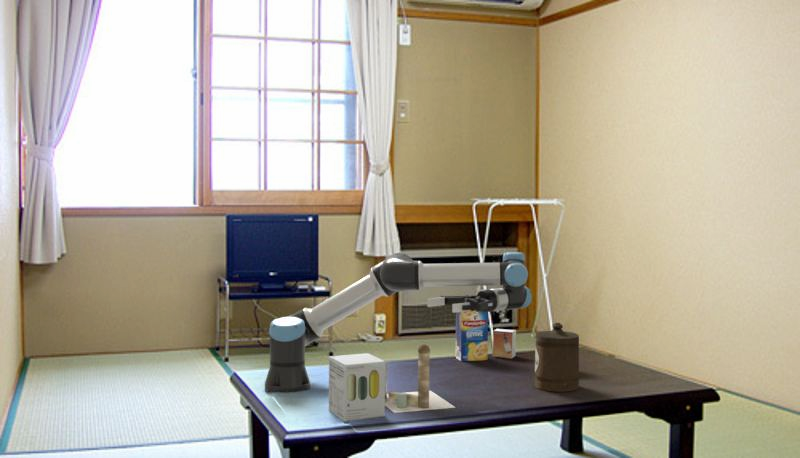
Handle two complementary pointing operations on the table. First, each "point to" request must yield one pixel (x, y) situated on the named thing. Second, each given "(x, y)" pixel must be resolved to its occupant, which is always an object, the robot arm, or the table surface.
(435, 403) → the board
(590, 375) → the table surface
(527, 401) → the table surface
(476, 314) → the blue tall rectangular box
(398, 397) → the post
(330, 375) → the supplement box
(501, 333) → the small box
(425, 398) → the gate
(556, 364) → the wooden container
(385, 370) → the hinge post
